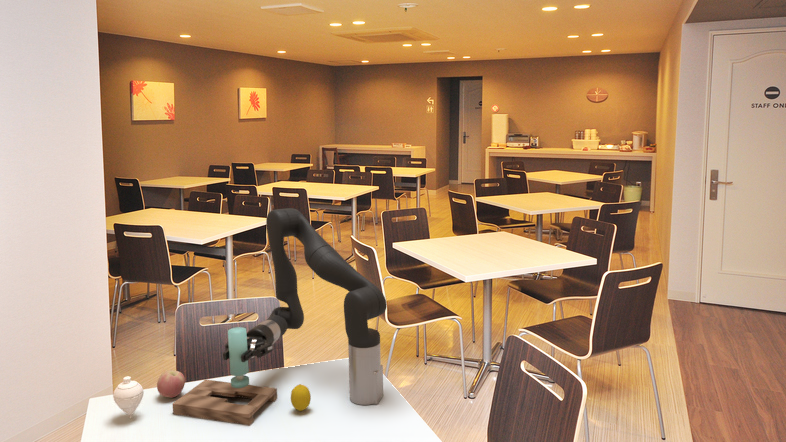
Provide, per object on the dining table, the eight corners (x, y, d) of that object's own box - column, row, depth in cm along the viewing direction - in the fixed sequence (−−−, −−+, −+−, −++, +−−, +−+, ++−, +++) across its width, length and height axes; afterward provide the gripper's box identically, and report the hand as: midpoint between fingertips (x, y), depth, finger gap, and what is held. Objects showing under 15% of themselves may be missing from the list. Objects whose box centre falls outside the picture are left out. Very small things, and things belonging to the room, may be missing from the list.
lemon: (307, 416, 164) (306, 389, 163) (288, 414, 166) (287, 388, 164) (313, 407, 170) (312, 380, 168) (295, 405, 171) (294, 379, 169)
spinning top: (142, 423, 162) (138, 382, 159) (112, 426, 160) (107, 384, 158) (148, 410, 169) (145, 370, 167) (120, 412, 168) (116, 372, 166)
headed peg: (252, 381, 170) (249, 328, 167) (243, 389, 165) (240, 334, 162) (237, 379, 171) (233, 326, 169) (227, 386, 167) (224, 332, 164)
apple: (172, 405, 172) (170, 379, 171) (152, 400, 175) (149, 374, 174) (191, 393, 179) (189, 368, 178) (171, 389, 182) (169, 364, 181)
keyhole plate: (277, 398, 175) (276, 388, 175) (249, 425, 160) (249, 414, 159) (206, 389, 182) (205, 379, 181) (173, 414, 167) (172, 403, 166)
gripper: (241, 321, 182) (209, 342, 166) (284, 326, 178) (256, 347, 162) (242, 345, 183) (211, 367, 167) (285, 349, 179) (257, 373, 163)
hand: (233, 357), depth 164 cm, fingers closed on headed peg, 5 cm apart
